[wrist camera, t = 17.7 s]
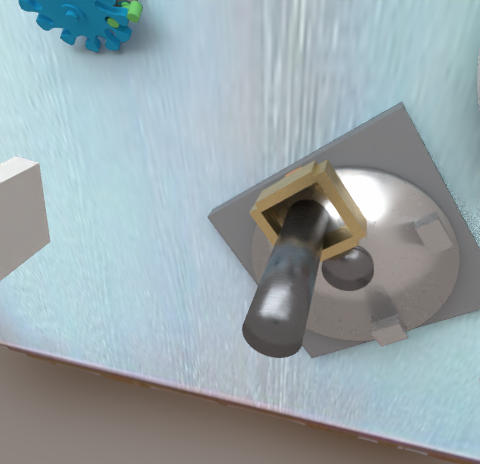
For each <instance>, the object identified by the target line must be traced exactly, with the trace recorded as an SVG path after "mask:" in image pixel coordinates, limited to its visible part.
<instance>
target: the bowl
mask: <svg viewBox="0 0 480 464" xmlns="http://www.w3.org/2000/svg"><path fill="white" fill-rule="evenodd" d="M477 94H478V104H479V110H480V50H479V57H478V67H477Z"/></svg>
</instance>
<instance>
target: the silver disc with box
mask: <svg viewBox="0 0 480 464" xmlns="http://www.w3.org/2000/svg"><path fill="white" fill-rule="evenodd" d="M303 199H310V200H314V201H317V202H319V203H320V204H321V205H323V206H324V208H325V209H326V211H327V213H328V217H329V220H328V225H327V230H326V235H325V239H324V244H323V249H322V253H321V258H320V263H319V267H318V272H317V277H316V281H315V286H314V291H313V295H312V300H311V305H310V309H309V314H308V319H307V323H306V329H308V330H310V331H313V332H315V333H318V334H321V335H324V336H328V337H332V338H336V339H343V340H353V341H368V340H376V341H377V342H378V343H379V345H380V346H383V345H387V344H390V343H393V342H397V341H400V340H403V339H407V338H408V331H409V330H411V329H413V328H415V327H417V326H419V325H420V324H422V323H423V322H425V321H426V320H428V319H429V318H430V317H431V316H433V315H434V314H435V313H436V312H437V311H438V310H439V309H440V308H441V307H442V305H443V304H444V303H445V302H446V300H447V299H448V297H449V295H450V294H451V292H452V290H453V287H454V285H455V283H456V279H457V275H458V271H459V249H458V244H457V240H456V237H455V233H454V230H453V228H452V226H451V223H450V221H449V219H448V217H447V215H446V214H445V212H444V211H443V210H442V208H441V207H440V205H439V204H438V203H437V202H436V201H435V200H434V199H433V198H432V197H431V196H430V195H429V194H428V193H427V192H426V191H424V190H423V189H422V188H421V187H419V186H418V185H416V184H414V183H413V182H411V181H409V180H408V179H406V178H403V177H401V176H399V175H397V174H394V173H391V172H388V171H385V170H381V169H377V168H371V167H365V166H339V167H333V166H332V165H331V163H330V162H329V160H328V159H327V160H325V161H323V162H322V163H320V164H317V162H316V161H315V160H314V161H313V162H311V163H309V164H307V165H306V166H304V167H302V168H300V169H299V170H297V171H295V172H294V173H292V174H290V175H288V176H287V177H285V178H283V179H282V180H280V181H278V182H276V183H275V184H273V185H271V186H270V187H268V188H266V189H264V190H263V191H262V192H261V194H260V195H259V197H258V199H257V200H256V202H255V204H254V205H253V207H252V209H251V211H250V212H249V213H250V215H251V216H252V218H253V219H254V220H255V222H256V223H257V225H256V228H255V231H254V235H253V238H252V247H251V255H252V264H253V269H254V272H255V275H256V278H257V281H258V283H260V281H261V278H262V276H263V273H264V270H265V268H266V265H267V263H268V260H269V258H270V255H271V253H272V250H273V248H274V245H275V243H276V240H277V238H278V235H279V233H280V230H281V227H282V225H283V222H284V220H285V217H286V215H287V212H288V210H289V208H290V206H291V205H292V204H293V203H295V202H297V201H299V200H303Z"/></svg>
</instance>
